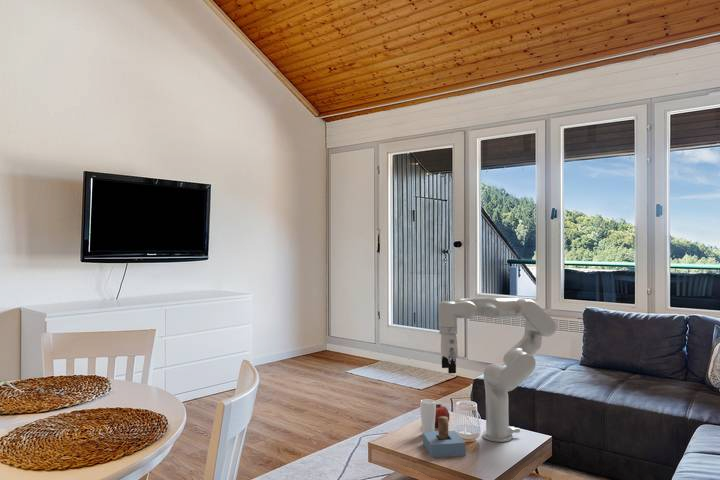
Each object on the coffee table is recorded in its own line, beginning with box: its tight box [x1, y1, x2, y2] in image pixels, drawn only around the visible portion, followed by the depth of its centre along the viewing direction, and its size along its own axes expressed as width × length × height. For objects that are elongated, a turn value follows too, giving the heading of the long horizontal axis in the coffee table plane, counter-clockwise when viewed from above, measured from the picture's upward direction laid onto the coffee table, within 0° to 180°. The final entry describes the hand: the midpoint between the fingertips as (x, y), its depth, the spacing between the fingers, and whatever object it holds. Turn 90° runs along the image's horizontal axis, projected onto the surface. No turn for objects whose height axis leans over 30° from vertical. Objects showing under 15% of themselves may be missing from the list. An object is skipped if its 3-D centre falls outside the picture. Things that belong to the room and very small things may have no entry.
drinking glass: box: [419, 398, 437, 435], centre depth 232 cm, size 7×7×15 cm
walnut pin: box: [437, 416, 449, 440], centre depth 215 cm, size 4×4×12 cm
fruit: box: [435, 403, 450, 427], centre depth 243 cm, size 11×10×10 cm
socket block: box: [422, 430, 467, 458], centre depth 215 cm, size 14×14×5 cm
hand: (448, 370), depth 224 cm, fingers open, 9 cm apart
